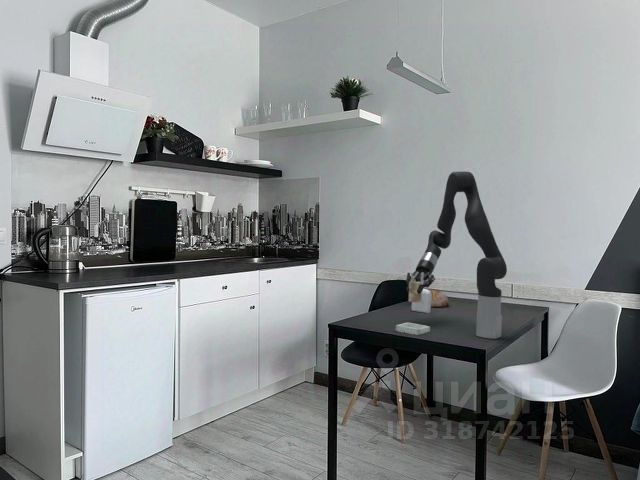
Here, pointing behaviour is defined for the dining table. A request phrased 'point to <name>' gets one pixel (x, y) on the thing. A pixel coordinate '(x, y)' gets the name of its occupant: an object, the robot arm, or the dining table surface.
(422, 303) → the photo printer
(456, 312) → the dining table surface
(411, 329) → the tray
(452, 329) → the dining table surface
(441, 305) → the bread
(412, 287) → the birch block
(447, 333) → the dining table surface
